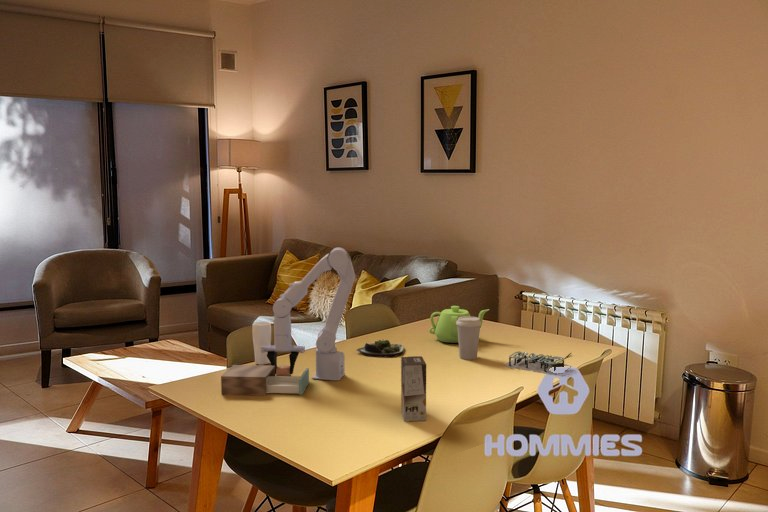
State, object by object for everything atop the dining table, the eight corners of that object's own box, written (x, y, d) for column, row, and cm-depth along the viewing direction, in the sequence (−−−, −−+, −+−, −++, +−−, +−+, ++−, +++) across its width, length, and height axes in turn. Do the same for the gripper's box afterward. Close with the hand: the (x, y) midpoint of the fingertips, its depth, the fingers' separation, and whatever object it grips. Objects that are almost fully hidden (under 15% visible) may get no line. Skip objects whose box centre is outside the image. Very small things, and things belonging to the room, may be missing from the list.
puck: (293, 375, 225) (293, 365, 224) (287, 379, 220) (287, 369, 219) (279, 374, 226) (279, 364, 225) (273, 378, 221) (273, 368, 221)
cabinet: (275, 382, 217) (275, 365, 216) (265, 395, 204) (265, 377, 203) (233, 381, 218) (233, 364, 217) (221, 394, 205) (221, 376, 204)
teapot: (424, 338, 278) (424, 305, 276) (459, 332, 289) (459, 300, 288) (453, 347, 263) (453, 312, 261) (489, 341, 274) (490, 307, 272)
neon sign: (585, 347, 248) (558, 365, 224) (585, 358, 248) (558, 377, 224) (532, 339, 260) (501, 356, 236) (532, 350, 260) (500, 367, 236)
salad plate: (364, 344, 270) (364, 333, 269) (407, 346, 266) (407, 335, 266) (354, 356, 251) (353, 344, 250) (400, 358, 248) (400, 346, 247)
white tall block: (267, 366, 236) (266, 325, 234) (250, 365, 237) (249, 324, 235) (274, 361, 242) (273, 321, 241) (257, 360, 244) (256, 321, 242)
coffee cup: (452, 359, 245) (452, 319, 243) (459, 353, 254) (459, 315, 252) (477, 362, 241) (478, 321, 240) (483, 355, 250) (484, 317, 249)
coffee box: (426, 421, 182) (427, 364, 180) (403, 421, 181) (403, 365, 179) (422, 409, 191) (422, 355, 189) (400, 410, 190) (400, 356, 188)
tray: (308, 382, 216) (308, 368, 215) (301, 394, 203) (301, 379, 203) (267, 381, 217) (267, 367, 216) (258, 394, 204) (257, 378, 204)
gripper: (306, 331, 225) (306, 370, 226) (264, 330, 226) (265, 369, 227) (302, 336, 218) (302, 376, 219) (259, 335, 219) (260, 375, 220)
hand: (283, 373), depth 223 cm, fingers closed on puck, 5 cm apart
